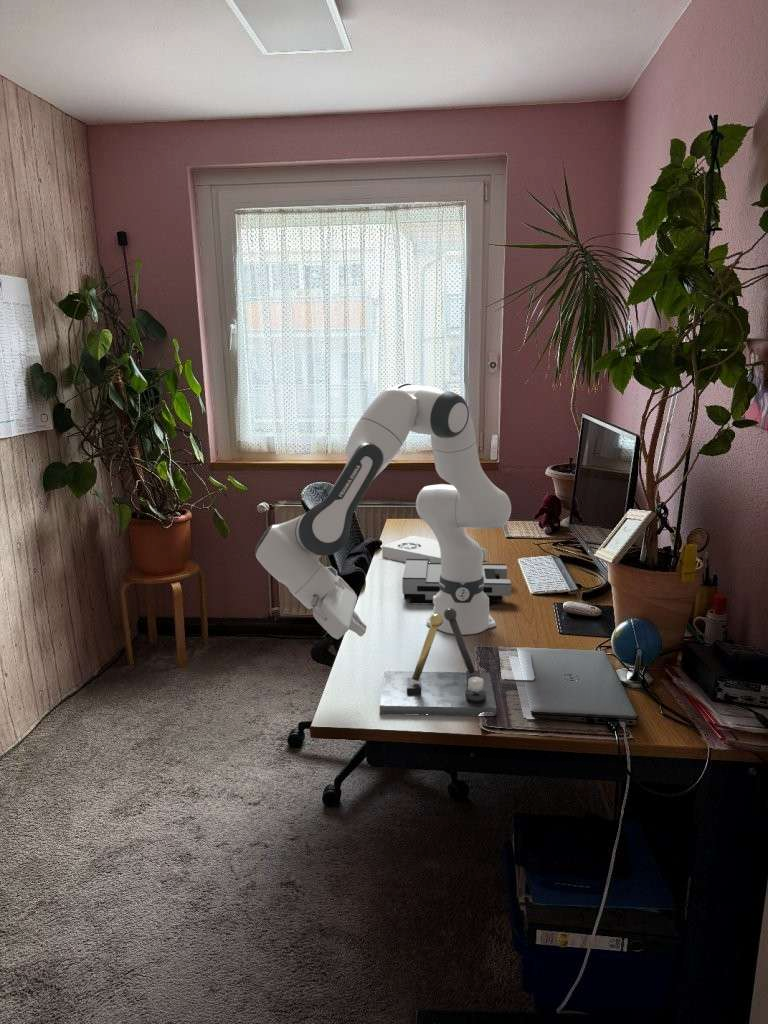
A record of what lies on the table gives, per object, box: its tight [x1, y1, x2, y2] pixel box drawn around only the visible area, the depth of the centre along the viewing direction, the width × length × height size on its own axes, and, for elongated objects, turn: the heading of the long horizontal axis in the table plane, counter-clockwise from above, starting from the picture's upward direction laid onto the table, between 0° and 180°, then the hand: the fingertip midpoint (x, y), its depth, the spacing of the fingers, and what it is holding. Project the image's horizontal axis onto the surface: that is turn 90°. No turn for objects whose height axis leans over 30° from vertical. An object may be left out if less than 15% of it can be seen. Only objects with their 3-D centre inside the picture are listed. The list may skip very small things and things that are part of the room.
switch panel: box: [379, 670, 497, 717], centre depth 150 cm, size 16×24×3 cm, turn 86°
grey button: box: [468, 677, 484, 692], centre depth 145 cm, size 3×3×2 cm
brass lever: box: [412, 614, 443, 681], centre depth 148 cm, size 3×3×16 cm
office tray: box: [401, 559, 512, 606], centre depth 215 cm, size 21×32×8 cm, turn 85°
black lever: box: [444, 608, 476, 674], centre depth 152 cm, size 3×3×16 cm
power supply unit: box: [381, 535, 487, 563], centre depth 251 cm, size 19×33×5 cm, turn 52°
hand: (364, 632), depth 148 cm, fingers closed
